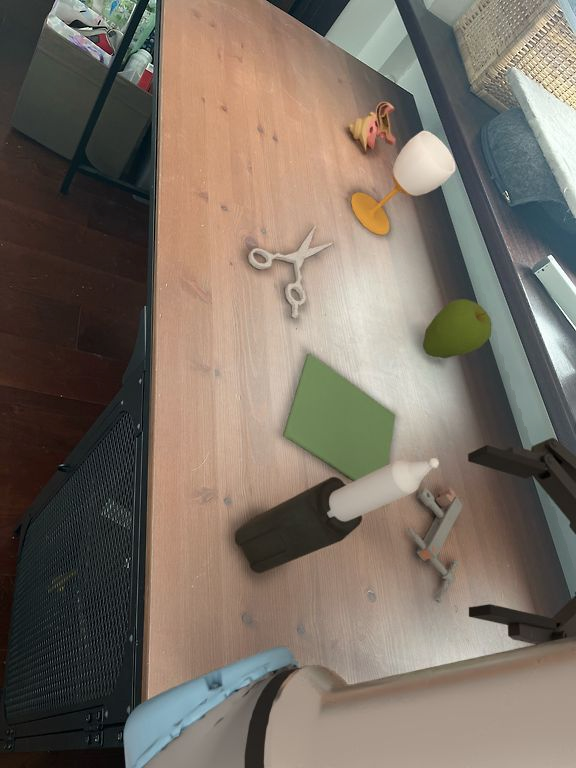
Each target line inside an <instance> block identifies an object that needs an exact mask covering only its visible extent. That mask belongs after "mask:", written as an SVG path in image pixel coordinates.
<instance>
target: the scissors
mask: <svg viewBox="0 0 576 768" xmlns="http://www.w3.org/2000/svg"><path fill="white" fill-rule="evenodd" d="M316 227H317V224H315V225H314V226H313V228H312V229H311V231H310V232H309V233H308V235H307V237H305V239H304V240H303V242H302V243H301V245H300V247H299V248H298V249H297V251H294V252H292V253H288V254H286V255H284V254H282V253H280V252H277V253H276V254H273V253H270V252H268V251H267V250H265V249H263V248H259V247H256V248H253V249H251V251H250V252H249V253H248V255H247V257H248V262H249V263H250V265H252V266H253V267H254V268H256V269H257V270H267V269H269V268H271V267H272V261H274V260H280V261H284V262H286V263H291V264H293V268H294V275H295V282H294V283H288V284H287V285H286V286H285V288H284V293H285V298H286V300H287V301H288V303H289V304H290V305H291V311H292V312H291V318H293V319H296V318H297V317H298V316H299V310H298V309H299V307H300V306H303V304H304V303H305V302H306V300H307V297H306V293H305V290H304V288H303V287H302V283H301V280H302V279H303V277H302V274H301V270H300V269H301V267H302V265H303V263H304V261H305V259H307V258H309V257H311V256H313V255H315V254H317V253H319V252H321V251H322V250H324V249H326V248H328V247H330V246H331V245H333V244H334V243H335V241H333V242H329V243H325V244H321V245H319V246H315V247H309V246H310V244H311V241H312V239H313V236H314V233H315V230H316ZM254 254H259V255H261V256H262V257H263V258H264V259H265V262H264V263H261V262H258V260H256V258H255V256H254ZM292 290H295V291H296V292H297V293H298V294H299V298H300V299H299V300H296V299H295V298H294V297H293V295H292Z"/></svg>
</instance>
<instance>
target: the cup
mask: <svg viewBox="0 0 576 768" xmlns="http://www.w3.org/2000/svg"><path fill="white" fill-rule="evenodd" d="M455 172H456V163H455V159H454V156H453V155H452V153H451V152H450V150H449V149H448V147H447V146H446V145H445V143H443V141H442V140H441V139H439V138H438V137H437V136H436V135H435V134H433V133H431V132H430V131H426V130H422V131H420V132H418V133H417V134H416V135H414V136H413V137H412V138H410V139H408V141H407V143H406V144H405V145H404V146H403V147H402V148H401V150H400V151H399V154H398V155H397V157H396V159H395V162H394V164H393V168H392V180H393V184H394V185H395V186H394V188H393V189H392V190H391V191H390V192H389V193H387V194H386V195H385V196H384V197H383V198H382V199H381V200H380V201H379V202H378V201H376V200H375V199H374V198H373V197H371V196H370V195H369V194H366V193H364V192H355V193H354V194H352V195H351V198H350V204H351V209H352V211H353V213H354V215H355V217H356V219H357V220H358V221H359V222H360V224H362V226H363V227H365V228H366V229H367V230H368V231H370V233H373V234H376V235H378V236H385V235H386V234H387V233H388V232H389V231H390V221H389V218H388V215H387V214H386V212H385V210H384V208H383V206H384V205H385V204H386V203H387V202H388V201H390V200H391V199H392V198H393V197H394V196H395V195H396V194H397V193H398V192H400V193H402V194H404V195H406V196H413V197H418V196H422V195H425V194H428V193H431V192H433V191H434V190H436V189H438V188H439V187H440V186H442V185H443V184H444V183H446V182H447V181H448V180H449V179H450V177H452V175H453V174H454V173H455Z"/></svg>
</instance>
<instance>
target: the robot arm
mask: <svg viewBox="0 0 576 768" xmlns="http://www.w3.org/2000/svg"><path fill="white" fill-rule="evenodd" d="M467 462H468V463H472V464H476V465H479V466H483V467H485V468H489V469H492V470H495V471H499V472H503V473H505V474H508V475H512V476H515V477H519V478H521V479H528V478H531V477H533V478H534V479H535V481H536V482H537V483H538V484H539V486H540V487H541V488H542V489H543V491H545V493H546V494H547V496H549V498H550V499H551V500H552V501H553V503H554V504H555V505H556V506H557V508H558V509H559V510H560V511H561V513H562V514H563V515H564V516H565V518H566V519H567V520H568V521H569V524H568V525H569V528H570V530H571V531H572V532H573V533H574V535H576V455H575V454H574V453H572V452H571V451H570V450H569V449H568V448H567V447H566V446H564V445H563V444H562V443H561V442H560V441H559V440H557V439H556V438H555V437H550V438H548V439H546V440H543V441H541V442H539V443H536V444H534V445H532V446H531V448H530V449H528V448H527V449H526V448H524V447H521V446H512V447H508V448H507V449H502V448H499V447H496V446H492V445H489V444H486V445H484V446H481V447H479V448H477V449H476V450H473V451H471V452H468V453H467ZM468 618H473V619H478V620H482V621H487V622H491V623H496V624H499V625H505V626H507V637H509V638H510V639H512V640H513V641H518V642H523V643H527V644H531V645H525V646H522V647H517V648H513V649H508V650H503V651H500V652H495V653H494V652H493V653H490V654H485V655H479V656H477V657H471V658H466V659H462V660H458V661H453V662H447V663H443V664H439V665H435V666H430V667H426V668H421V669H417V670H416V669H415V670H412V671H407V672H402V673H398V674H393V675H389V676H383V677H379V678H375V679H369V680H366V681H361V682H356V683H352V684H351V683H350V684H349V683H348V682H347V681H346V680H345V679H344V678H343V677H342V676H341V675H339V674H338V673H337V672H336V671H334V670H333V669H331V668H329V667H328V666H324V665H319V664H310V665H305V666H300V667H299V661H298V660H297V659H296V658H295V656H294V654H293V651H292V650H291V649H290V648H289V647H287V646H286V645H285V646H284V645H281V646H276V647H271V648H269V649H266V650H262V651H260V652H257V653H254V654H252V655H249V656H246V657H244V658H241V659H238V660H235V661H233V662H230V663H228V664H226V665H225V666H222V667H221V668H217V669H214V670H212V671H209V672H207V673H205V674H201V675H199V676H196V677H194V678H192V679H189V680H185V681H184V682H182V683H180V684H177V685H175V686H173V687H171V688H168V689H166V690H164V691H162V692H160V693H158V694H155V695H154V696H151V697H150V698H148V699H146V700H144V701H143V702H141V703H139V704H138V705H137V706H136V707H135V708H134V709H132V711H131V713H130V714H129V715H128V717H127V719H126V722H125V725H124V729H123V734H122V735H123V748H124V761H125V768H576V591H575V592H574V596H573V597H572V598H571V599H570V600H569V601H568V602H567V603H566V604H565V605H564V606H563V607H562V608H561V609H559V611H557V612H556V613H555V615H553V616H552V617H549V616H544V615H541V614H540V615H539V614H536V613H531V612H526V611H522V610H517V609H513V608H509V607H505V606H500V605H497V604H496V605H495V604H492V603H489V604H488V603H487V604H481V605H474V606H468Z"/></svg>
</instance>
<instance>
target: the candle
mask: <svg viewBox="0 0 576 768" xmlns="http://www.w3.org/2000/svg"><path fill="white" fill-rule="evenodd" d="M439 465H440V461H439V459H438V458H436V457H430V458H429V460H420V461H411V460H408V459H404V458H400V459H396V460H395V461H392V462H390V463H388V465H386V466H384V467H382V468H380V469H378V470H376V471H374V472H372V473H370V474H368V475H366V476H364V477H362V478H360V479H358V480H356V481H352V482H350V483H347V484H345V483H344V481H343V480H342V479H340V478H339V477H338V476H331V477H329V478H327V479H325V480H323V481H321V482H319V483H317V484H315V485H314V486H312V487H309V488H308V489H306V490H304V491H302V492H300V493H298V494H296V495H295V496H293V497H291V498H288V499H286V500H285V501H283V502H281V503H278V504H277V505H275V506H274V507H272V508H269V509H267V510H265V511H263V512H261V513H259V514H258V515H256V516H254V517H253V518H252V519H250V520H249V521H247V522H246V523H245V524H243V525H242V526H241V527H239V528H238V529H237V530H236V532H235V534H234V540H235V543H236V545H237V546H239V547H240V549H241V551H242V552H243V554H244V556H245V557H246V559H247V560H248V562H249V564H250V566H249V567H250V569H251V570H252V571H253V572H255V573H257V574H262V573H265V572H267V571H268V572H269V571H271V570H272V569H275V568H277V567H280V566H283V565H285V564H287V563H290V562H293V561H295V560H297V559H300V558H302V557H305V556H307V555H310V554H312V553H315V552H317V551H320V550H322V549H324V548H327V547H330V546H332V545H334V544H337V543H339V542H342V541H343V540H344V539H345V538H347V537H348V536H349V535H350V534H351V533H352V532H353V531H354V530H355V529H357V528H358V527H359V526H360V525H361V523H362V520H363V515H365V514H367V513H371V512H372V511H375V510H377V509H380V508H381V507H384V506H386V505H388V504H391V503H394V502H395V501H398V500H400V499H402V498H405V497H407V496H409V495H411V494H414V493H415V492H416V491H417V490H418V489H419V487H420V485H421V482H422V480H423V479H424V477H426V475H428V473H430V471H432V469H438V467H439Z"/></svg>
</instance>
